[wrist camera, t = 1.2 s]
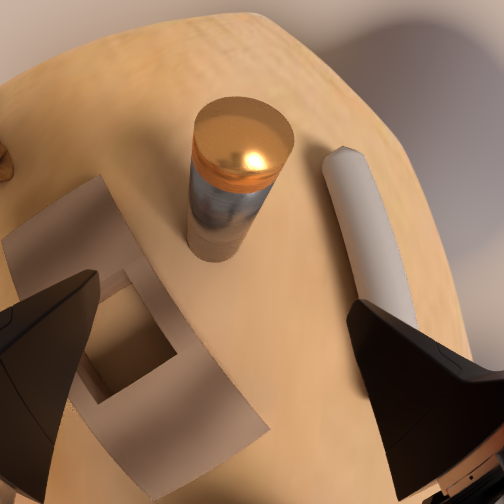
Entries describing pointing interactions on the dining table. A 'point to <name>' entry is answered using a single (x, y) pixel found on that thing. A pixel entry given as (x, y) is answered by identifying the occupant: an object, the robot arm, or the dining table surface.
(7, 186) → the dining table surface
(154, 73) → the dining table surface
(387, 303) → the tube
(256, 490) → the dining table surface
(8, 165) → the stuffed squirrel
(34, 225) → the grey hollow block
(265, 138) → the metallic cylinder
